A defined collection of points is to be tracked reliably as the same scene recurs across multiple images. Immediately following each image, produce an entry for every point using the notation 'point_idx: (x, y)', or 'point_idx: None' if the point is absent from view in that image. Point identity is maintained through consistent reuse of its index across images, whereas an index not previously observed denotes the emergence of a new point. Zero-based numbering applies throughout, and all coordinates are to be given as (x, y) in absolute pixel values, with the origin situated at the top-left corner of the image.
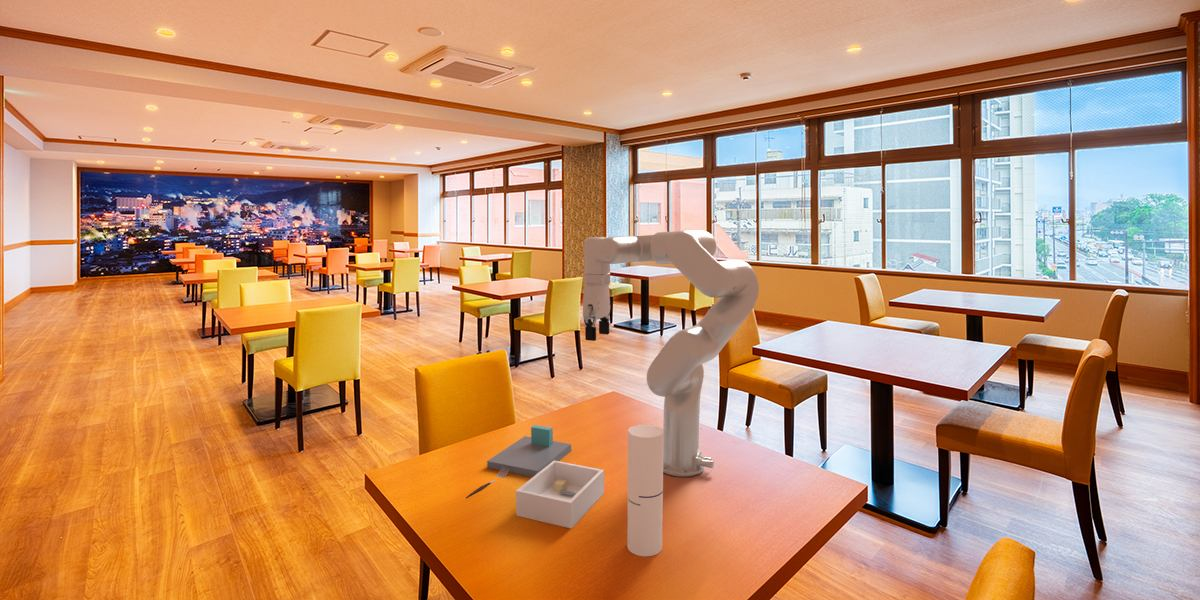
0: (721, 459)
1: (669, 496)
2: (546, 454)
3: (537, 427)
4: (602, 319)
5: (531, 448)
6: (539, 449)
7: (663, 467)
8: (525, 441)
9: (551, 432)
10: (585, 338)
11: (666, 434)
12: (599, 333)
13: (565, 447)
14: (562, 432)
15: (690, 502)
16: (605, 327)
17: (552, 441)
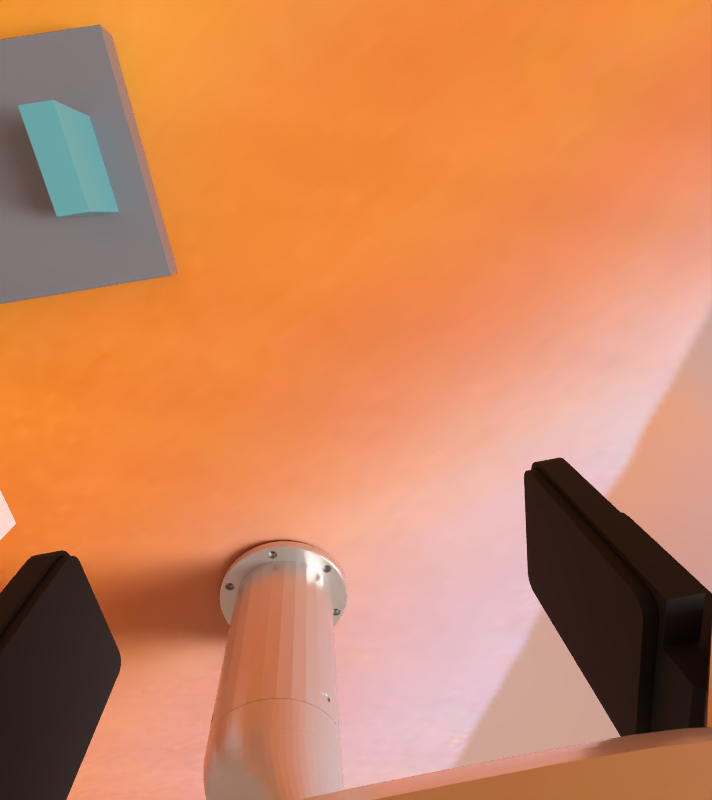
0: (389, 640)
1: (123, 638)
2: (28, 255)
3: (39, 140)
4: (688, 706)
5: (22, 159)
6: (41, 197)
7: (230, 581)
8: (56, 77)
9: (85, 213)
10: (28, 563)
11: (224, 662)
12: (532, 466)
13: (130, 277)
14: (305, 119)
15: (132, 678)
16: (573, 627)
17: (111, 212)
